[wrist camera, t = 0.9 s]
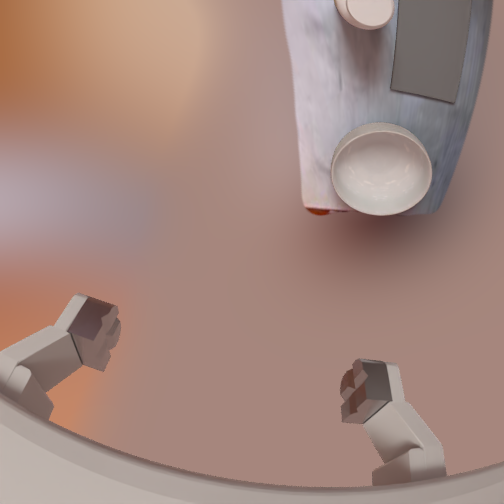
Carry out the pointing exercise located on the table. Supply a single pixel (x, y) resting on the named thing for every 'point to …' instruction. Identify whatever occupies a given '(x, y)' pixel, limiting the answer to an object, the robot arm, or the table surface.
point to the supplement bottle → (366, 12)
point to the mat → (430, 47)
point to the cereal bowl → (381, 169)
